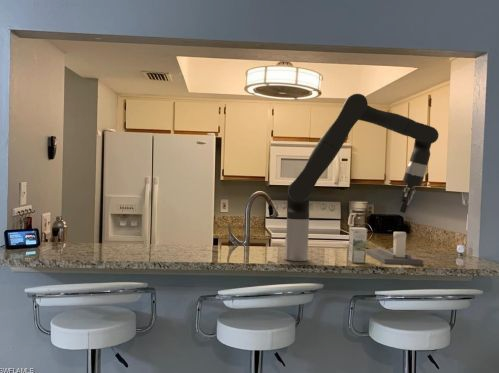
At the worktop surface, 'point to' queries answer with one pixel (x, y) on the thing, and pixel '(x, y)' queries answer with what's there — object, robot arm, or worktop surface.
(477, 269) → the worktop surface
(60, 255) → the worktop surface
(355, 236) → the syrup box
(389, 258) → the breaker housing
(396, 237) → the handle
